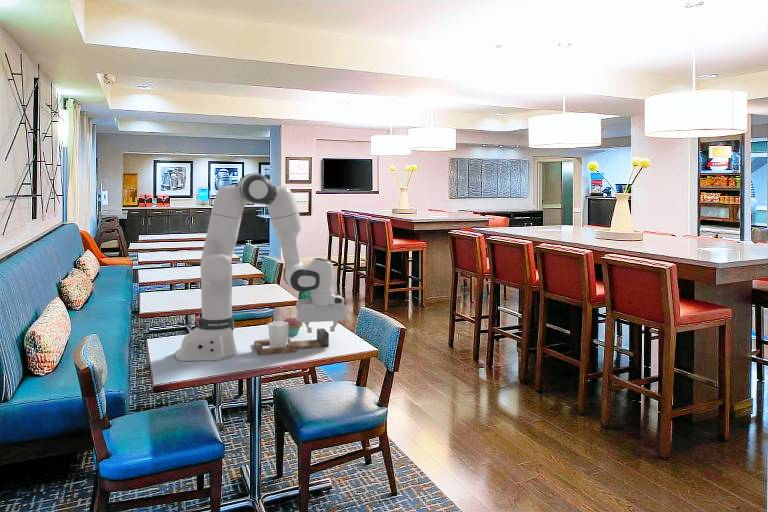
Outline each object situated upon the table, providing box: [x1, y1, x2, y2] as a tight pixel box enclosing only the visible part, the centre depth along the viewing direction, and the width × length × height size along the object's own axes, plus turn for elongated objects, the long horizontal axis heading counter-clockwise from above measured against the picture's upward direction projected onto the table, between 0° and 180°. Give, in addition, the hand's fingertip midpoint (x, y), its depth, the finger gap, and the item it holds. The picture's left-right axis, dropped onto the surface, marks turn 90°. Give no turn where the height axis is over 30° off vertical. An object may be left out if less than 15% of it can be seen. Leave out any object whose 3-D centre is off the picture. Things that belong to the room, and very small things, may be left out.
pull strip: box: [253, 327, 330, 356], centre depth 230 cm, size 28×14×6 cm, turn 109°
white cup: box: [267, 320, 289, 349], centre depth 227 cm, size 8×8×10 cm
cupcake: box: [283, 305, 304, 337], centre depth 247 cm, size 9×8×12 cm
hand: (320, 331), depth 233 cm, fingers open, 8 cm apart
